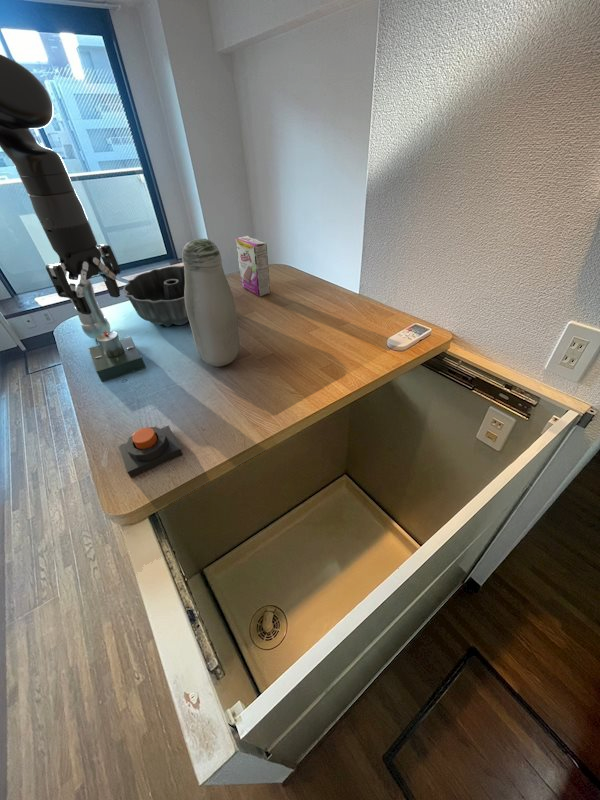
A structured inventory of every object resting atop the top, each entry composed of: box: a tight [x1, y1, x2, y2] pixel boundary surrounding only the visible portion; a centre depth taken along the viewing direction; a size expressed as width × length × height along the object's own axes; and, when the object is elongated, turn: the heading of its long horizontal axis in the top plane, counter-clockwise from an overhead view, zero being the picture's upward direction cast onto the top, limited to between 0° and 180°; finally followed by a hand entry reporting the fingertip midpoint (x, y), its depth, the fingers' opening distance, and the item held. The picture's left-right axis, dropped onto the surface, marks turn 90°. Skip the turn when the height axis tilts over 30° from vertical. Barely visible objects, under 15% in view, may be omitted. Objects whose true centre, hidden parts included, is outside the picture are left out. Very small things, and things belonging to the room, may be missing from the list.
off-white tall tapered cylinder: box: [181, 238, 241, 368], centre depth 72 cm, size 10×10×28 cm
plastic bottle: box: [56, 261, 112, 340], centre depth 85 cm, size 6×7×20 cm
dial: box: [96, 331, 124, 358], centre depth 77 cm, size 4×4×5 cm
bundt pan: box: [122, 265, 189, 327], centre depth 98 cm, size 26×26×10 cm
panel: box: [87, 336, 147, 383], centre depth 80 cm, size 12×10×3 cm
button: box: [132, 427, 157, 449], centre depth 56 cm, size 4×4×2 cm
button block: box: [118, 425, 183, 479], centre depth 58 cm, size 9×7×4 cm
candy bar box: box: [235, 235, 271, 298], centre depth 108 cm, size 11×5×16 cm, turn 40°
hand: (101, 304), depth 70 cm, fingers open, 8 cm apart
